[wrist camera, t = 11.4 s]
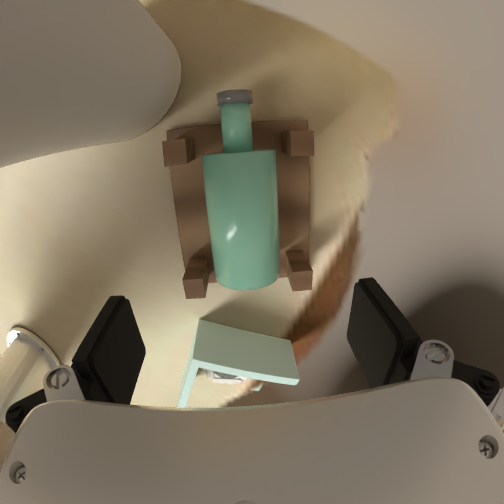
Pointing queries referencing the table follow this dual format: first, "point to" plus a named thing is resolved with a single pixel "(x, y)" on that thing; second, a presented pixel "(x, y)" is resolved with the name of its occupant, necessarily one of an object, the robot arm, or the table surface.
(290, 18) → the table surface
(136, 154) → the table surface
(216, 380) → the right angle wall
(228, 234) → the bottle
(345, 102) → the table surface
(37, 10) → the cylinder vase
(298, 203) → the rest
